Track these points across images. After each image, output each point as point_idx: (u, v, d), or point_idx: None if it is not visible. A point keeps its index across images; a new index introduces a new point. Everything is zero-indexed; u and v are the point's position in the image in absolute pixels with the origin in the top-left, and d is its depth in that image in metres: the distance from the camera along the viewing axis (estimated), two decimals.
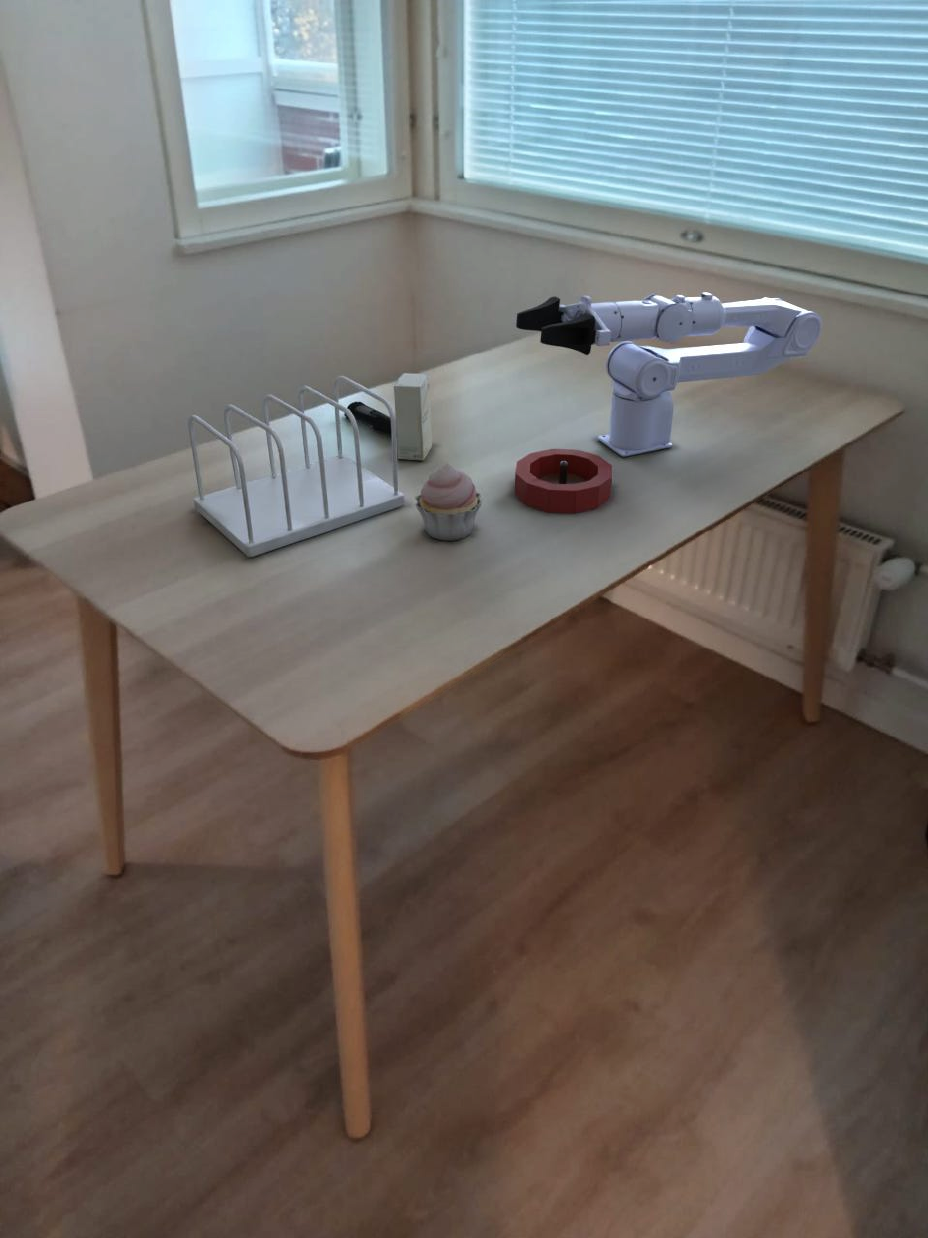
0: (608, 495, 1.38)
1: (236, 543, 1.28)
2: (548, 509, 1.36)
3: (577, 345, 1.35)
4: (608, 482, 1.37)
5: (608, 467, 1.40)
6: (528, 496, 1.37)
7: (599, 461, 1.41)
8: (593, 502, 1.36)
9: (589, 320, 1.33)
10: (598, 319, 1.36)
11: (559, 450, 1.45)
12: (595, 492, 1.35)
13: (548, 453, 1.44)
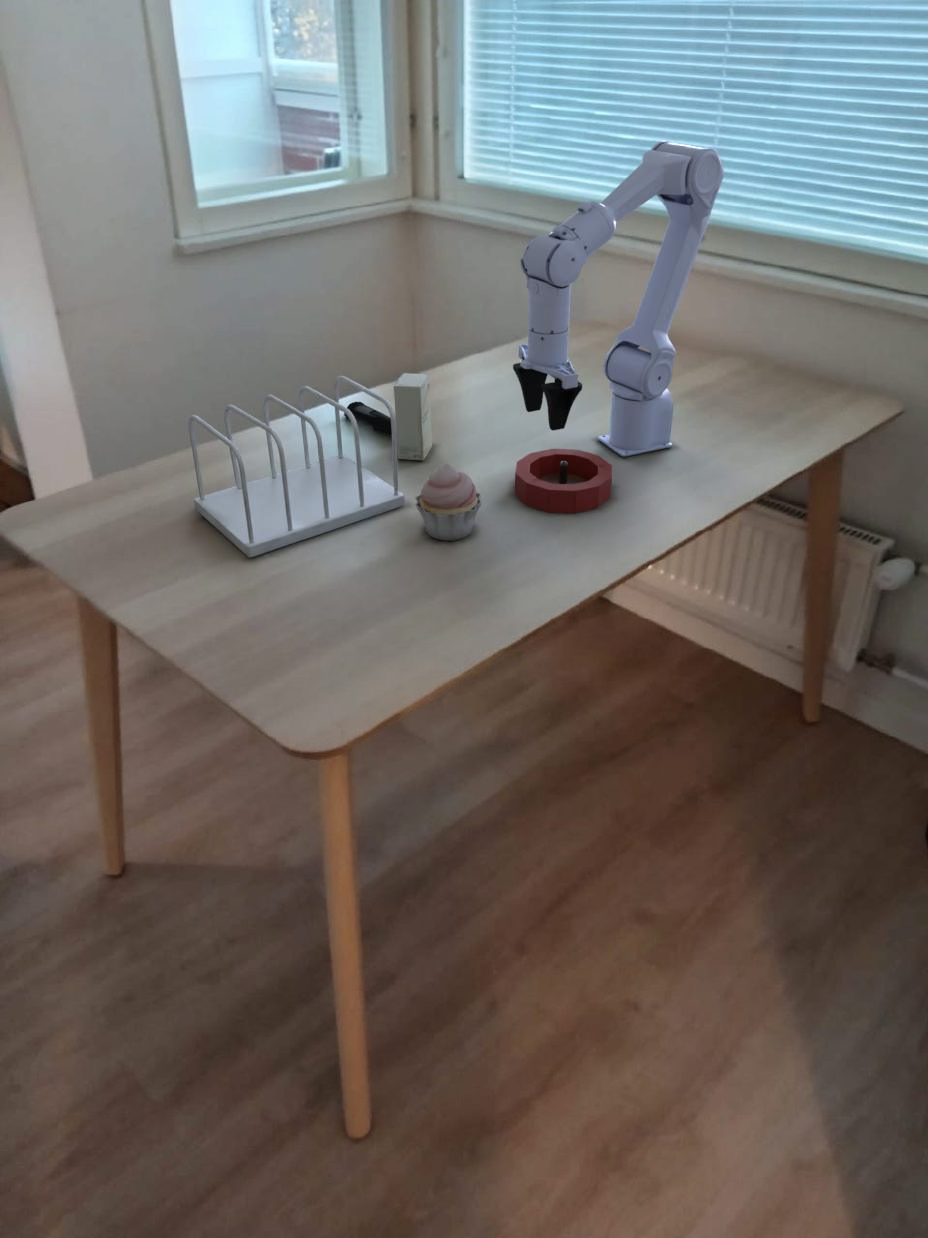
0: (608, 495, 1.38)
1: (236, 543, 1.28)
2: (548, 509, 1.36)
3: (572, 397, 1.35)
4: (608, 482, 1.37)
5: (608, 467, 1.40)
6: (528, 496, 1.37)
7: (599, 461, 1.41)
8: (593, 502, 1.36)
9: (551, 395, 1.32)
10: (549, 371, 1.33)
11: (559, 450, 1.45)
12: (595, 492, 1.35)
13: (548, 453, 1.44)
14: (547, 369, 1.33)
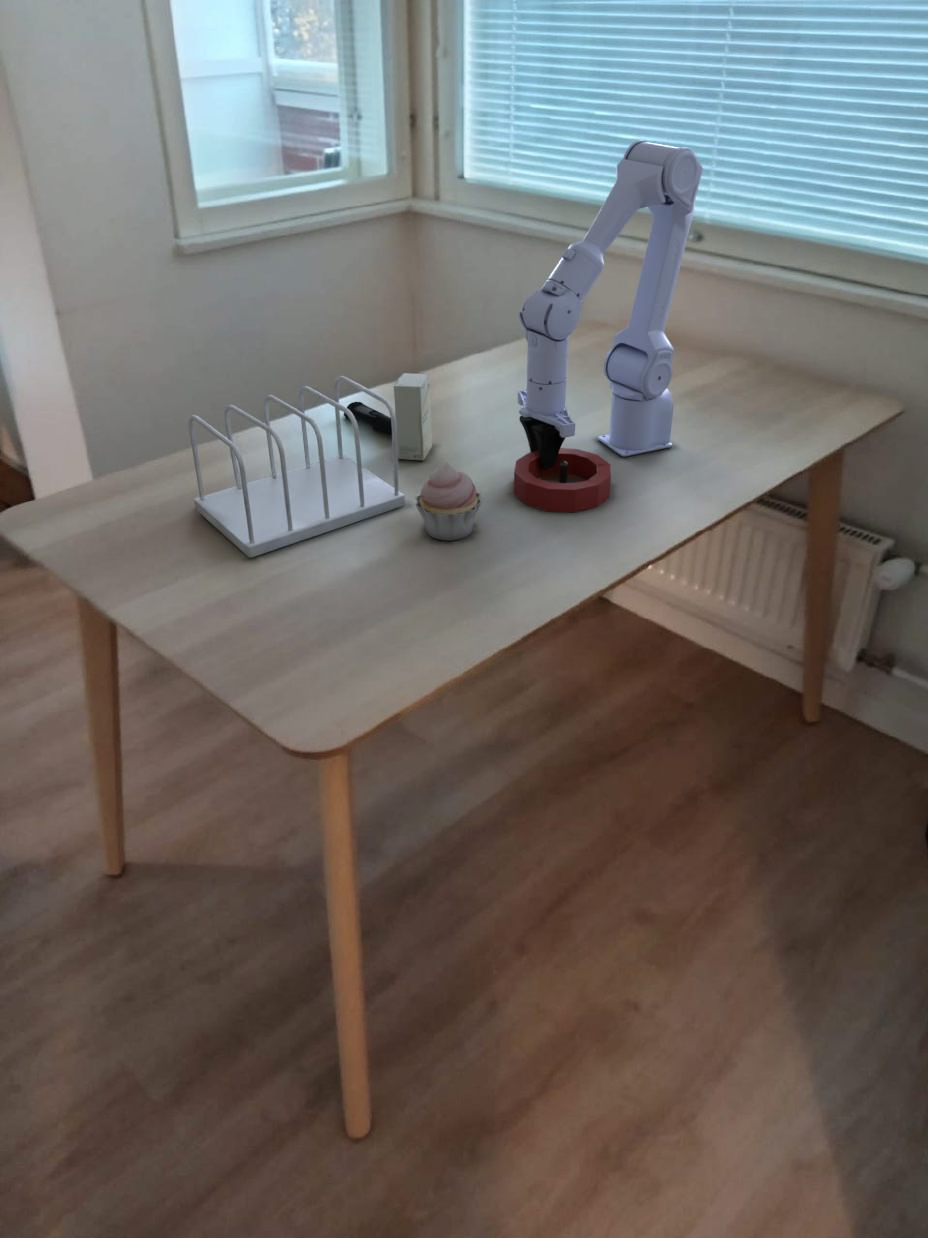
0: (607, 494, 1.39)
1: (236, 543, 1.28)
2: (547, 508, 1.36)
3: (561, 438, 1.41)
4: (607, 481, 1.37)
5: (607, 466, 1.40)
6: (527, 495, 1.37)
7: (598, 460, 1.42)
8: (592, 501, 1.36)
9: (541, 436, 1.38)
10: (547, 420, 1.37)
11: None
12: (593, 491, 1.35)
13: None
14: (545, 418, 1.37)
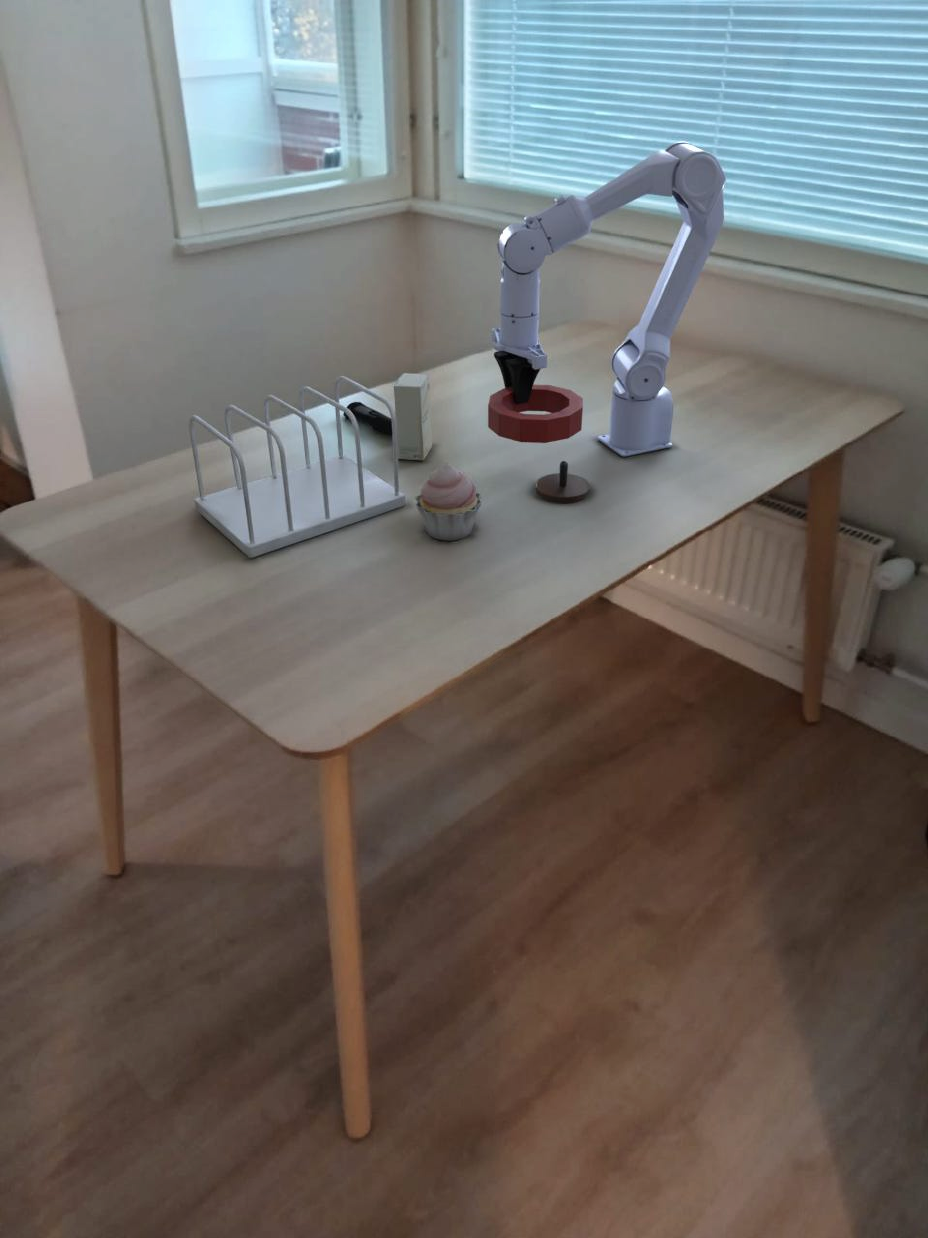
0: (579, 426, 1.42)
1: (237, 543, 1.28)
2: (520, 439, 1.39)
3: (534, 372, 1.44)
4: (578, 413, 1.40)
5: (579, 400, 1.43)
6: (501, 427, 1.40)
7: (570, 394, 1.45)
8: (563, 432, 1.39)
9: (514, 370, 1.41)
10: (520, 353, 1.40)
11: None
12: (565, 421, 1.38)
13: None
14: (518, 351, 1.40)
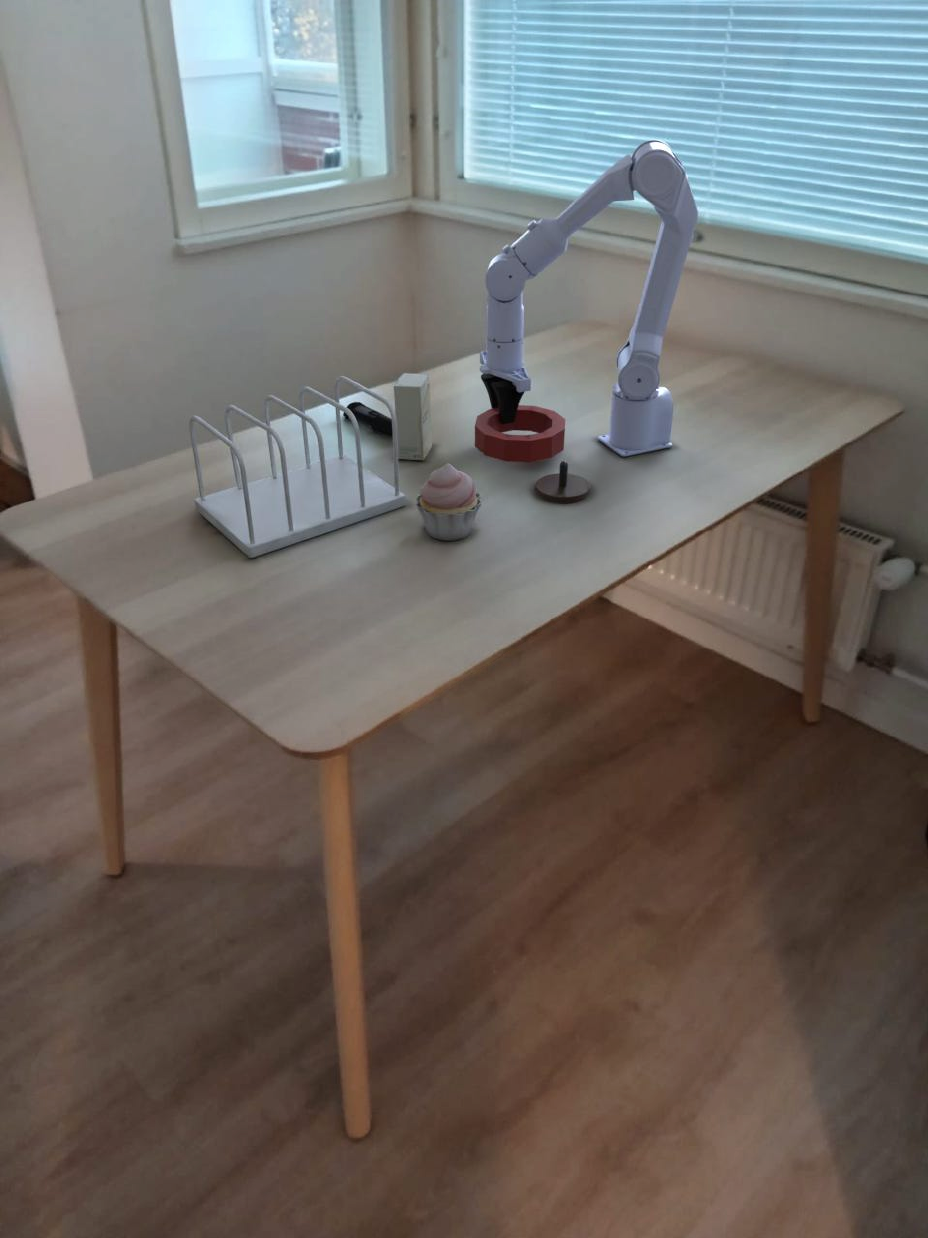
0: (561, 446, 1.48)
1: (237, 544, 1.28)
2: (505, 458, 1.45)
3: (519, 394, 1.50)
4: (561, 433, 1.47)
5: (562, 420, 1.49)
6: (486, 446, 1.47)
7: (554, 415, 1.51)
8: (546, 452, 1.46)
9: (500, 392, 1.48)
10: (505, 376, 1.46)
11: None
12: (548, 442, 1.45)
13: None
14: (503, 374, 1.46)
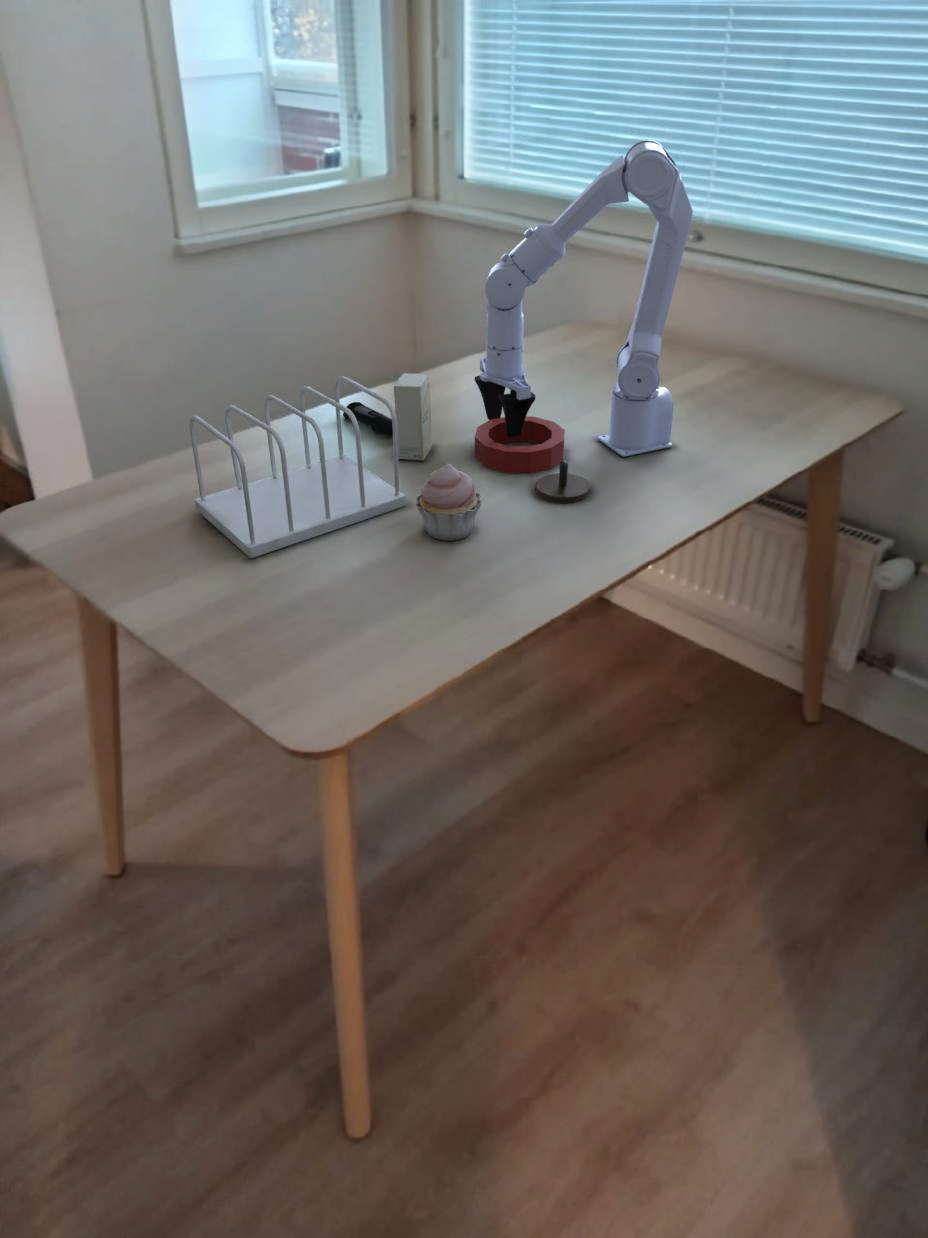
0: (561, 457, 1.49)
1: (237, 544, 1.28)
2: (504, 469, 1.47)
3: (526, 407, 1.49)
4: (560, 445, 1.48)
5: (561, 431, 1.50)
6: (486, 458, 1.48)
7: (553, 426, 1.52)
8: (546, 463, 1.47)
9: (507, 405, 1.47)
10: (505, 384, 1.47)
11: None
12: (547, 453, 1.46)
13: None
14: (503, 382, 1.47)
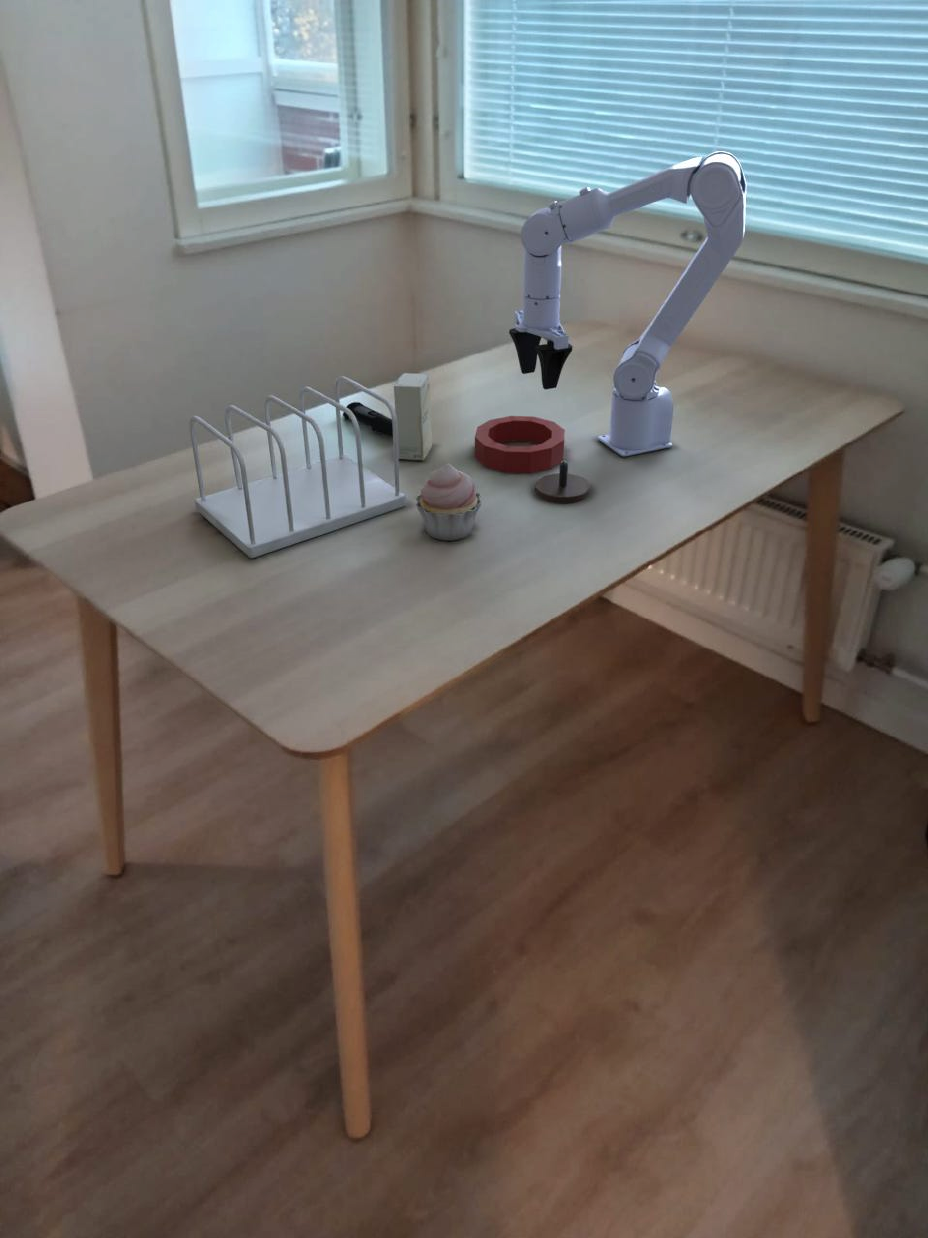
0: (561, 457, 1.49)
1: (238, 544, 1.28)
2: (504, 469, 1.47)
3: (563, 358, 1.47)
4: (560, 445, 1.48)
5: (561, 431, 1.50)
6: (486, 458, 1.48)
7: (553, 426, 1.52)
8: (546, 463, 1.47)
9: (544, 355, 1.45)
10: (542, 334, 1.45)
11: (517, 417, 1.56)
12: (547, 453, 1.46)
13: (507, 419, 1.55)
14: (540, 332, 1.45)
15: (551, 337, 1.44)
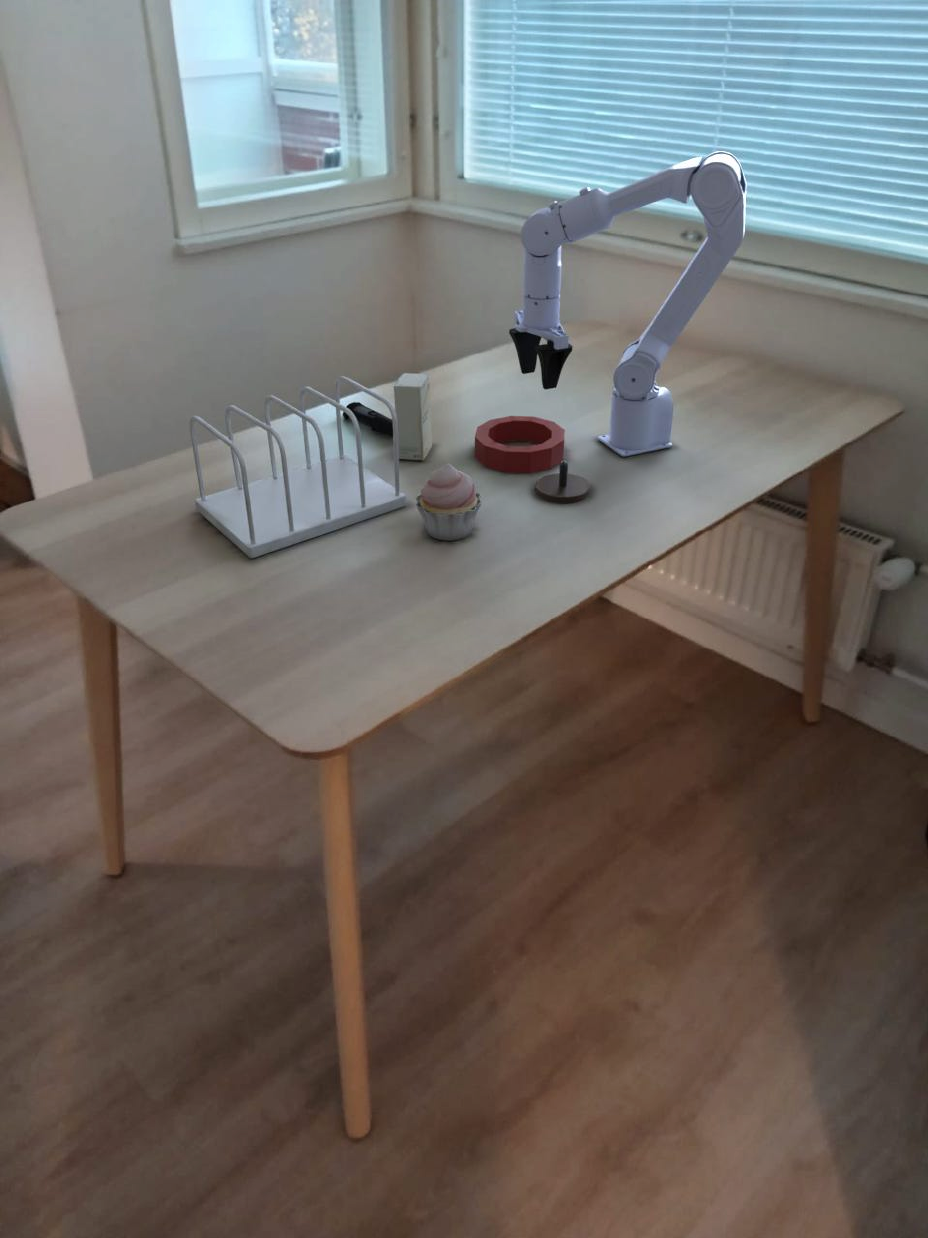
0: (561, 457, 1.49)
1: (238, 544, 1.28)
2: (504, 469, 1.47)
3: (563, 358, 1.47)
4: (560, 445, 1.48)
5: (561, 431, 1.50)
6: (486, 458, 1.48)
7: (553, 426, 1.52)
8: (546, 463, 1.47)
9: (544, 355, 1.45)
10: (542, 334, 1.45)
11: (517, 417, 1.56)
12: (547, 453, 1.46)
13: (507, 419, 1.55)
14: (540, 332, 1.45)
15: (551, 337, 1.44)
